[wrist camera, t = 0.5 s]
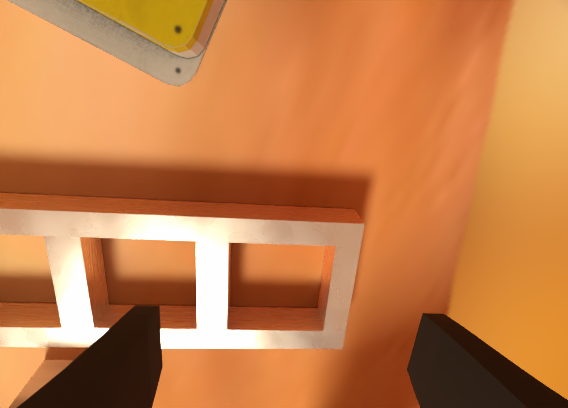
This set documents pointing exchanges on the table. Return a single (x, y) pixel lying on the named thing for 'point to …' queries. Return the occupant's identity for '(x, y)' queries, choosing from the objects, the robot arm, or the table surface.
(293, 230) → the tan slotted board
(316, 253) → the table surface
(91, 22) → the emergency button
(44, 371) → the birch peg
